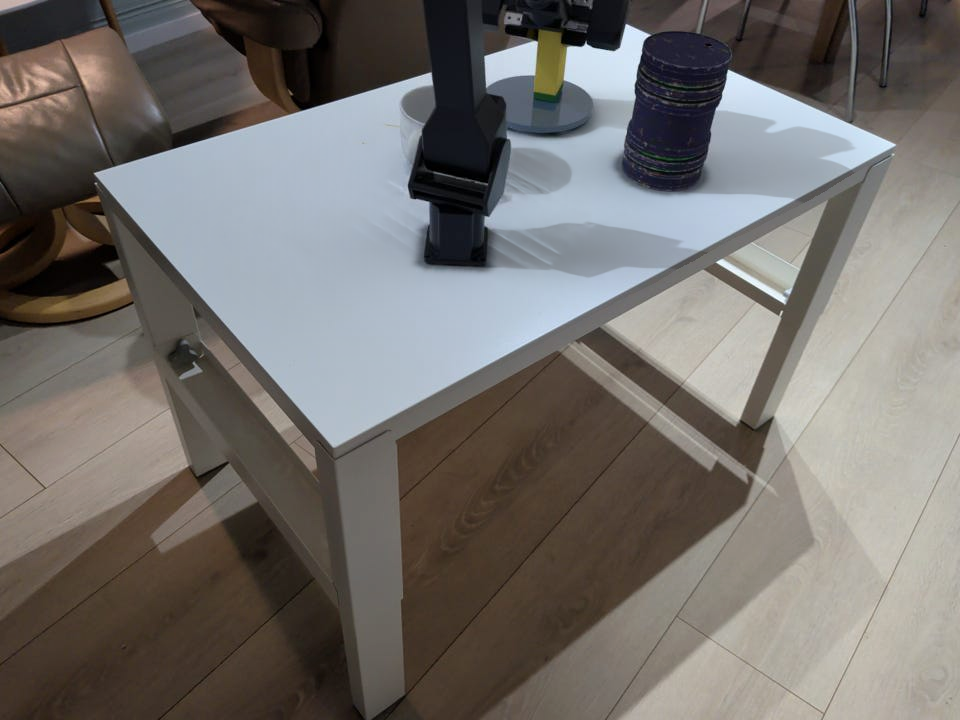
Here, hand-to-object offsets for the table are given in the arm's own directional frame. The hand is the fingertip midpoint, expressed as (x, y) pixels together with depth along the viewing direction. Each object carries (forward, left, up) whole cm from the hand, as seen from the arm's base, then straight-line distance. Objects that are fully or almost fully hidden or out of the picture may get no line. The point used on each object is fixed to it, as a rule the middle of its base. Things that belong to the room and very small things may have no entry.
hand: (555, 41), depth 104 cm
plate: (-3, +2, -8) cm, 9 cm away
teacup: (-20, +14, -8) cm, 26 cm away
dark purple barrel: (-17, -13, -8) cm, 23 cm away
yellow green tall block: (-1, 0, -7) cm, 7 cm away
